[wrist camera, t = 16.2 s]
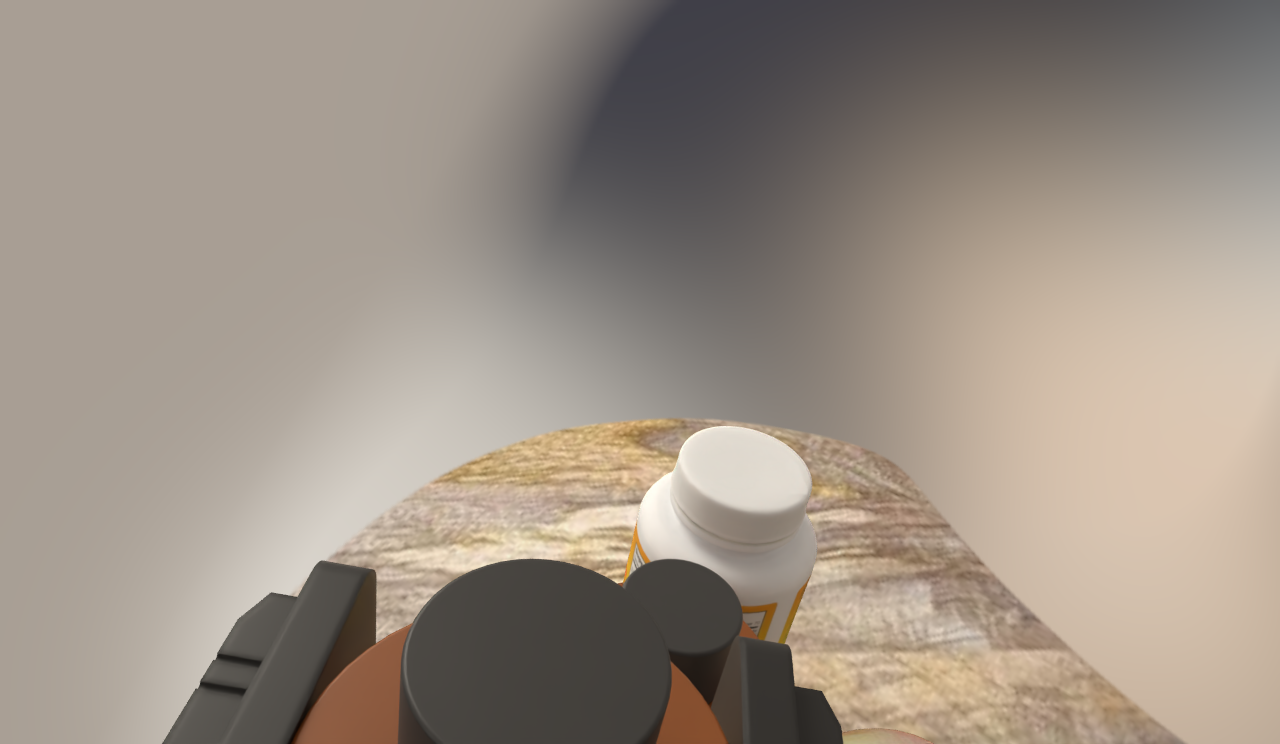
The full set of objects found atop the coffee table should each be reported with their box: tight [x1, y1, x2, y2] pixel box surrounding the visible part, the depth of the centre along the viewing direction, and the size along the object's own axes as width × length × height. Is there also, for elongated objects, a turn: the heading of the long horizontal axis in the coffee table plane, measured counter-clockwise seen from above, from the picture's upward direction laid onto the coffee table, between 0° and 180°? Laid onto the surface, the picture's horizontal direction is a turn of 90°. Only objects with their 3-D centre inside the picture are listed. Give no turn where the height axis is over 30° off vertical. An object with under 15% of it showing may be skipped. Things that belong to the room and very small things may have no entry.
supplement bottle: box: [623, 426, 817, 644], centre depth 28 cm, size 6×6×10 cm
